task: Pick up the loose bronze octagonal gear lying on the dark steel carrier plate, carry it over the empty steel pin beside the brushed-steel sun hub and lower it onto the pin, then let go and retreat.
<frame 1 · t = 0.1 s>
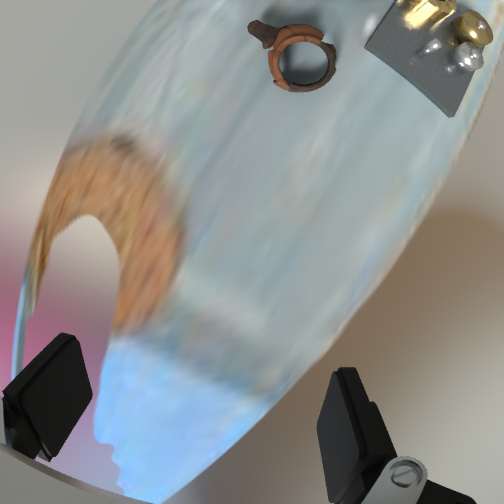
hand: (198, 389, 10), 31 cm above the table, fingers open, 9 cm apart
brown clawed ring bracket: (289, 57, 34), on the table
carrier: (432, 41, 31), on the table
planet gear: (426, 3, 28), point 1 cm above the table, touching carrier
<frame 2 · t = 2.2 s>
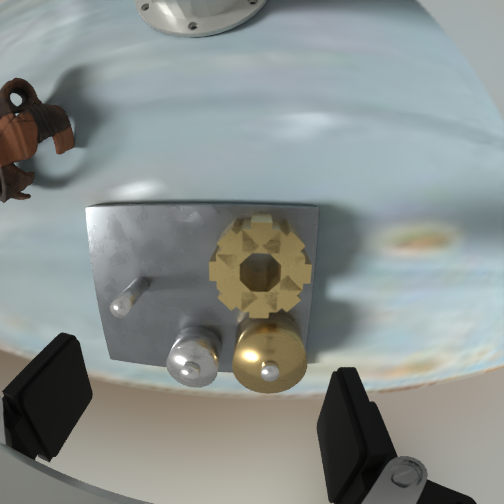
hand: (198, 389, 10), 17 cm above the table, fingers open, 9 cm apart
brown clawed ring bracket: (40, 138, 24), on the table
carrier: (198, 291, 27), on the table
planet gear: (260, 255, 25), point 1 cm above the table, touching carrier
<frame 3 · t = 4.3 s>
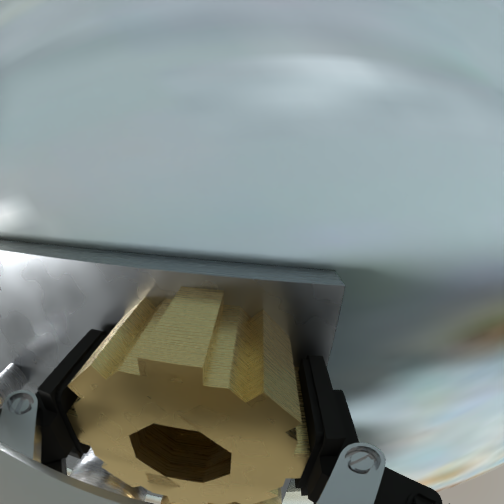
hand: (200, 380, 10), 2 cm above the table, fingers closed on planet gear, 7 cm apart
carrier: (106, 396, 13), on the table
planet gear: (201, 373, 11), point 1 cm above the table, touching carrier, gripper
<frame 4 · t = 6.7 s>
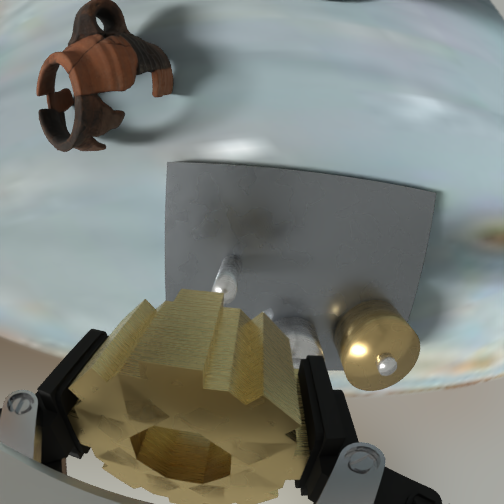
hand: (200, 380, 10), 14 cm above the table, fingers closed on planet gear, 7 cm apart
brown clawed ring bracket: (117, 80, 20), on the table
carrier: (297, 275, 24), on the table
planet gear: (202, 375, 11), point 13 cm above the table, touching gripper
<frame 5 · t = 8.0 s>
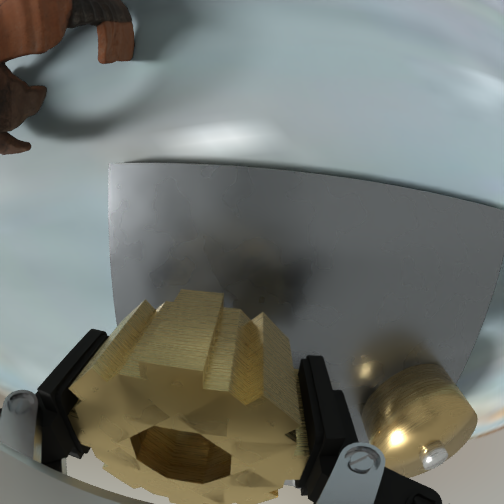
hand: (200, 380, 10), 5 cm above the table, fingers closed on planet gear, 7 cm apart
brown clawed ring bracket: (62, 52, 11), on the table
carrier: (315, 334, 15), on the table
planet gear: (202, 375, 11), point 5 cm above the table, touching gripper
when the fingers open (3 cm above the table, at t = 8.9 s): planet gear drops 1 cm, resting on carrier.
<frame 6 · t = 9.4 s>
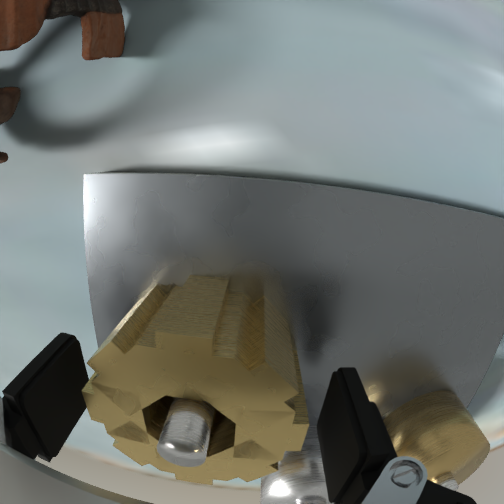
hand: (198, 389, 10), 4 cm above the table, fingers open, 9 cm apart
brown clawed ring bracket: (46, 50, 10), on the table
carrier: (318, 363, 13), on the table
planet gear: (207, 357, 12), point 1 cm above the table, touching carrier
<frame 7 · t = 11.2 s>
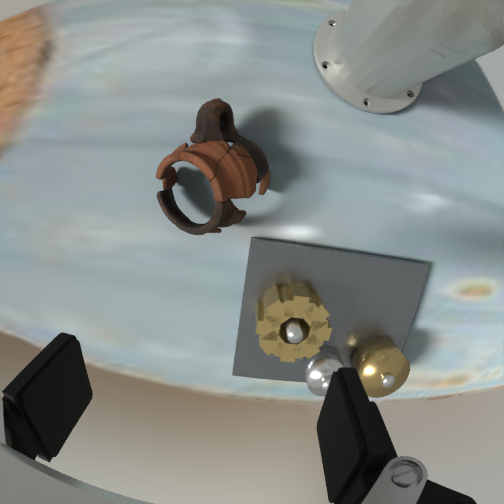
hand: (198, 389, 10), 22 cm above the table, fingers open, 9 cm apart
brown clawed ring bracket: (219, 167, 29), on the table
carrier: (330, 319, 33), on the table
planet gear: (290, 312, 31), point 1 cm above the table, touching carrier
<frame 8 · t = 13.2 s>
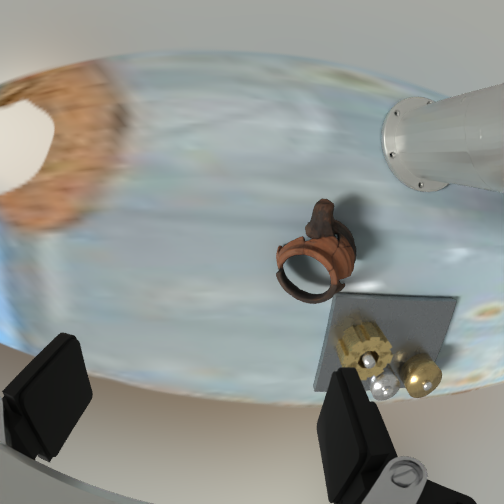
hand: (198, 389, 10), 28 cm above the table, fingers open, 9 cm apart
brown clawed ring bracket: (315, 243, 38), on the table
carrier: (385, 344, 41), on the table
planet gear: (360, 343, 39), point 1 cm above the table, touching carrier
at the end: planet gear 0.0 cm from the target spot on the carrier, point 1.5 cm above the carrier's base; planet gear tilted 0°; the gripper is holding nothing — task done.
